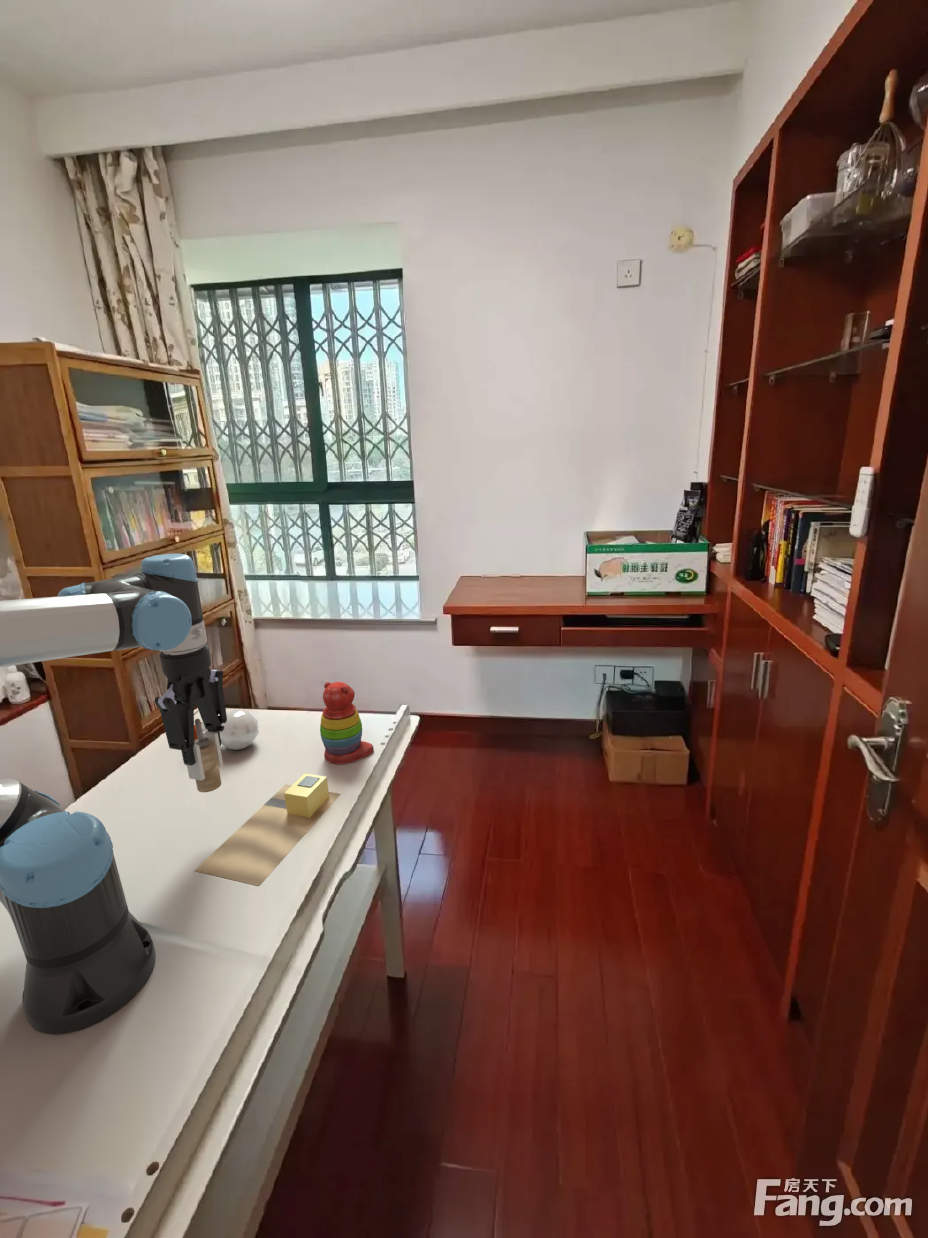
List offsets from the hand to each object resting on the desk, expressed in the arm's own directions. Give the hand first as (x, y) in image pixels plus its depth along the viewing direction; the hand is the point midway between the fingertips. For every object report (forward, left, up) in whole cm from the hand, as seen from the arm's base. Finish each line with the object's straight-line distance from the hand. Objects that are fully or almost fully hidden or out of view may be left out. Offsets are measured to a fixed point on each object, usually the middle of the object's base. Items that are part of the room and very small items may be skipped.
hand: (206, 771), depth 103 cm
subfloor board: (+3, -10, -14) cm, 17 cm away
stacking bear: (+32, -8, -14) cm, 36 cm away
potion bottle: (+28, +21, -14) cm, 38 cm away
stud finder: (+11, -12, -13) cm, 21 cm away
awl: (0, 0, -3) cm, 3 cm away
